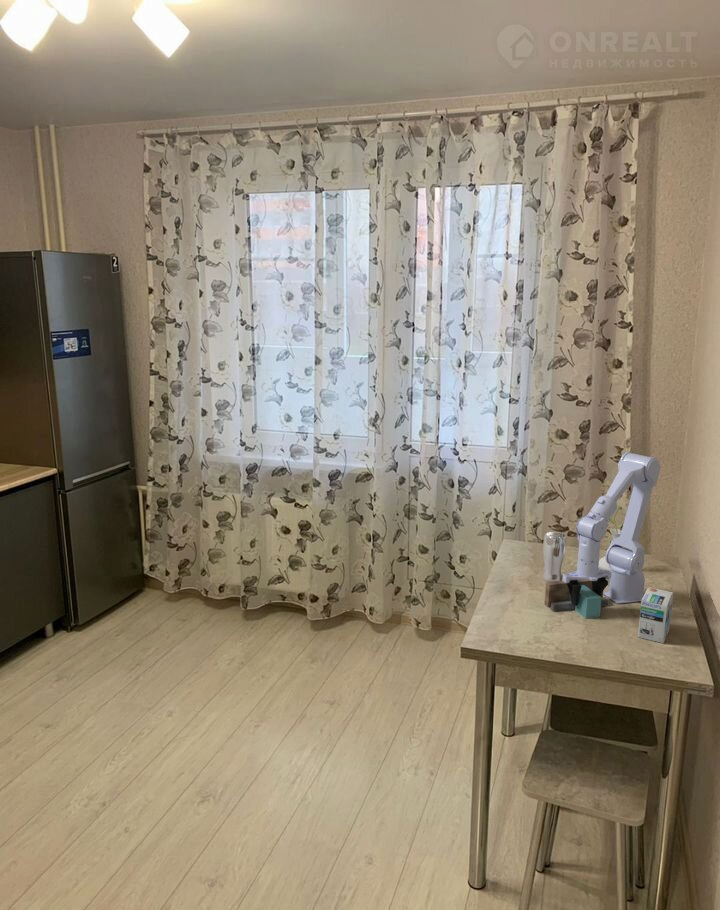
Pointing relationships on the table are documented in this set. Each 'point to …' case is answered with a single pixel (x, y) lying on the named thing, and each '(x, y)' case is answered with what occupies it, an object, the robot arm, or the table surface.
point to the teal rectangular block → (588, 603)
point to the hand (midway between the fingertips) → (584, 603)
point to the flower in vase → (614, 531)
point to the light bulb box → (655, 615)
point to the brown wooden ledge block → (564, 595)
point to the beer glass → (553, 555)
